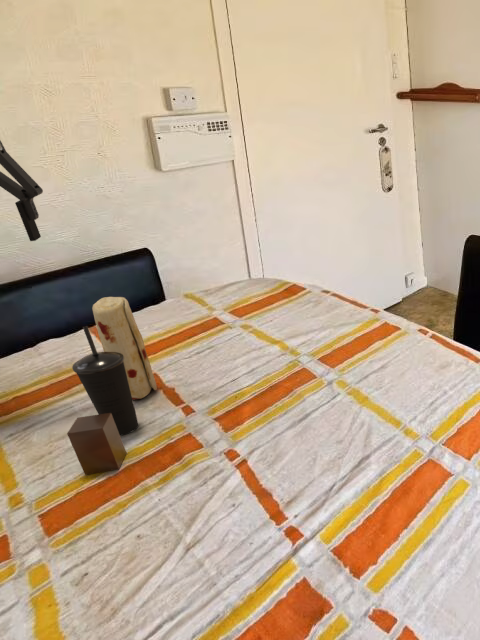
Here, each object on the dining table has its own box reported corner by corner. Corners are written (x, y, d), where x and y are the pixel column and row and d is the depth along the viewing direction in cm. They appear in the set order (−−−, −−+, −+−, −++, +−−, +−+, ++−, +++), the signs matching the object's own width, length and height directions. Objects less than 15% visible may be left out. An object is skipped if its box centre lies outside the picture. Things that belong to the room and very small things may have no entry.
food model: (125, 386, 127) (91, 293, 118) (161, 379, 130) (130, 288, 120) (119, 408, 119) (82, 310, 110) (158, 400, 122) (125, 304, 112)
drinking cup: (113, 445, 108) (72, 339, 99) (90, 432, 112) (48, 330, 102) (155, 424, 114) (120, 323, 104) (132, 413, 117) (96, 315, 108)
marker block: (84, 475, 100) (66, 433, 97) (94, 458, 105) (76, 417, 101) (119, 469, 102) (102, 428, 98) (126, 452, 106) (111, 412, 102)
